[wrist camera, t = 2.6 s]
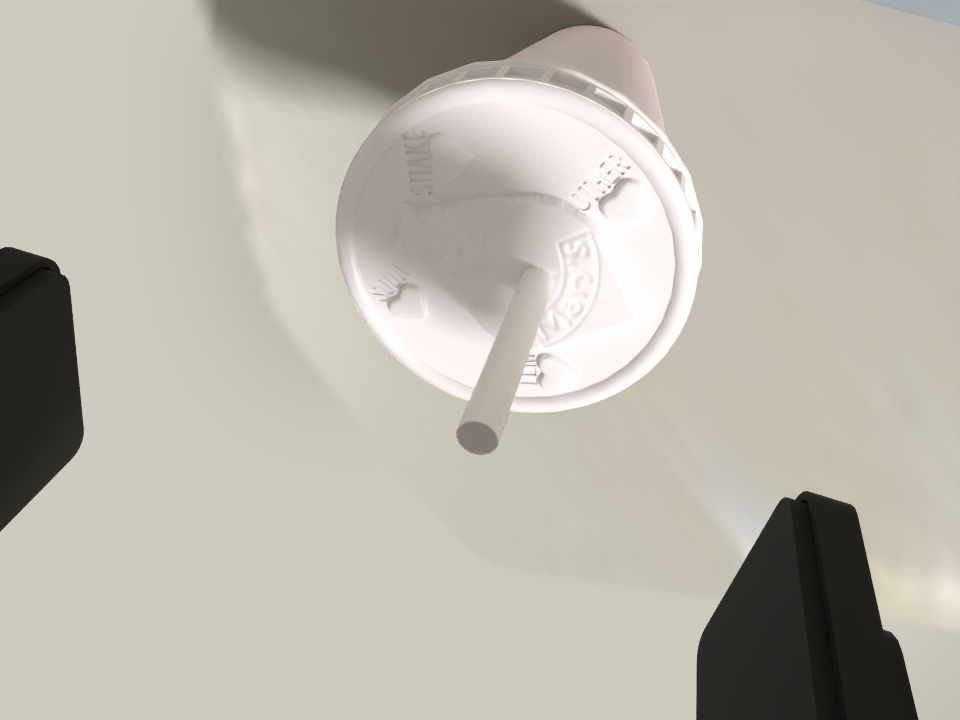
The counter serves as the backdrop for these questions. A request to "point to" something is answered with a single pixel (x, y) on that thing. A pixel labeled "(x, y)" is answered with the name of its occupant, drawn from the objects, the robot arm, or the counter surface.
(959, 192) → the counter surface
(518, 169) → the smoothie
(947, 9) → the base board
